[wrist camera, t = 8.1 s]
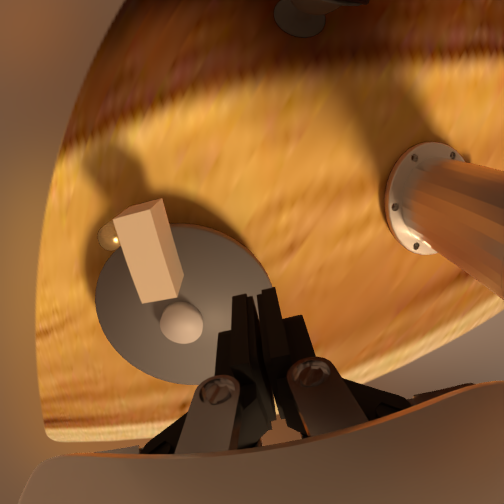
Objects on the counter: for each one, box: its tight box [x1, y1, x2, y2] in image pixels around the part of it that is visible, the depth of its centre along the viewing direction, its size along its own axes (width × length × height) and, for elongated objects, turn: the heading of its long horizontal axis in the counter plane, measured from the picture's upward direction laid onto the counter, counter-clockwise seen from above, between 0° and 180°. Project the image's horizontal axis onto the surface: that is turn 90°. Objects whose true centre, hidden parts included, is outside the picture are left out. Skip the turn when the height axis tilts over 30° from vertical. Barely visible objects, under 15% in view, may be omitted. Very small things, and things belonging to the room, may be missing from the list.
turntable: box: [95, 198, 272, 385], centre depth 27 cm, size 20×18×6 cm
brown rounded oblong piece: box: [98, 205, 134, 251], centre depth 27 cm, size 8×15×7 cm, turn 10°
